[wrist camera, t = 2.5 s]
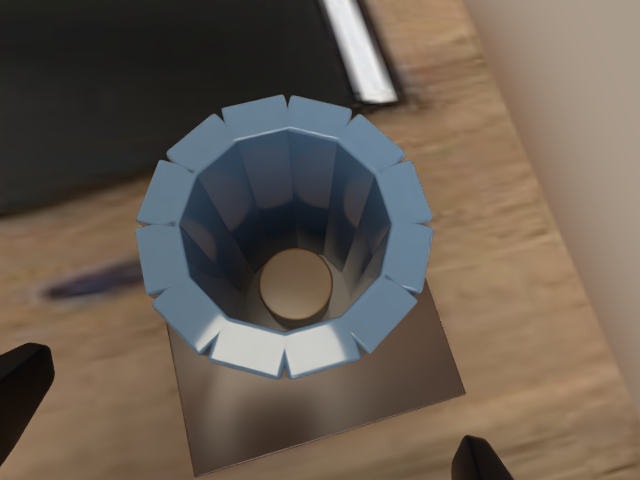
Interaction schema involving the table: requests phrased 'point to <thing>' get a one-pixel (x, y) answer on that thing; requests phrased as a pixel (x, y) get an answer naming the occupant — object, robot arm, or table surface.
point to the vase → (283, 231)
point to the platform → (313, 390)
